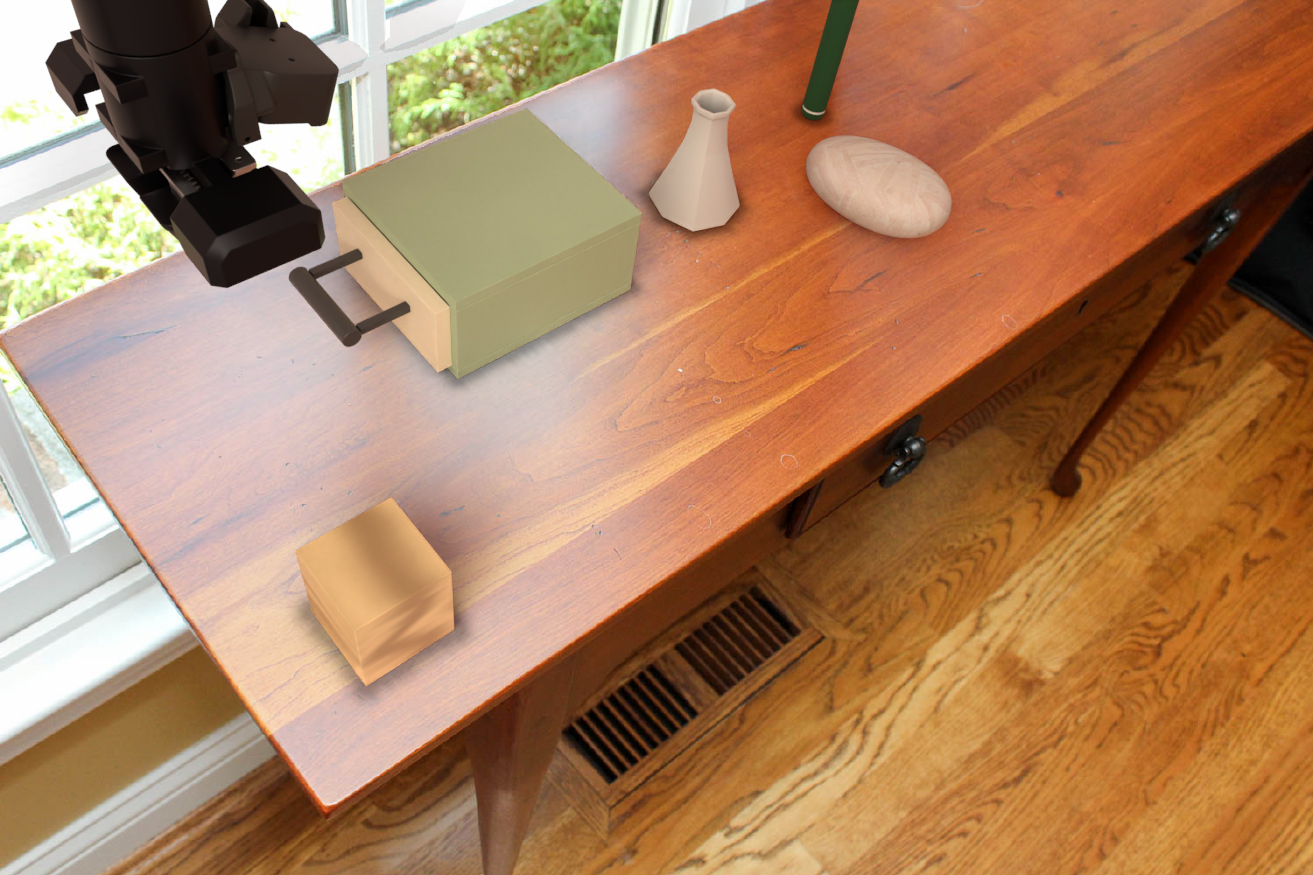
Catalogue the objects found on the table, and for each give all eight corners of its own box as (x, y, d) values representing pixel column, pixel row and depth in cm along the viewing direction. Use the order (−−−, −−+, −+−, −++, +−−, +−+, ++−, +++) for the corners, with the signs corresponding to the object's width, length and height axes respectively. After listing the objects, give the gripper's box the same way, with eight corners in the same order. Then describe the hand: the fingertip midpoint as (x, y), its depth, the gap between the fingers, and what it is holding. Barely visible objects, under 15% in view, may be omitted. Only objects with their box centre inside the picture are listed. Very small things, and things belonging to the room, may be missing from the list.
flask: (632, 194, 89) (646, 92, 81) (695, 163, 92) (714, 61, 84) (691, 244, 86) (713, 144, 78) (754, 210, 89) (780, 110, 81)
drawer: (371, 407, 71) (363, 348, 67) (275, 292, 76) (262, 230, 71) (602, 288, 80) (610, 230, 76) (504, 193, 85) (505, 132, 81)
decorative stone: (777, 198, 91) (791, 150, 87) (832, 151, 96) (847, 104, 92) (906, 274, 87) (926, 228, 83) (956, 221, 92) (978, 176, 88)
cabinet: (457, 379, 75) (455, 302, 69) (352, 262, 80) (341, 180, 74) (630, 289, 82) (642, 212, 76) (523, 187, 87) (526, 107, 81)
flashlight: (779, 97, 99) (835, -120, 83) (830, 97, 100) (896, -117, 84) (792, 132, 96) (853, -86, 81) (845, 132, 97) (916, -83, 82)
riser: (365, 687, 61) (353, 631, 55) (311, 610, 63) (294, 550, 58) (454, 629, 64) (452, 571, 58) (399, 558, 66) (391, 496, 60)
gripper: (406, 74, 50) (421, 304, 63) (213, -110, 57) (262, 129, 70) (177, 155, 45) (243, 388, 57) (-3, -59, 52) (90, 190, 65)
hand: (214, 262), depth 62 cm, fingers closed
